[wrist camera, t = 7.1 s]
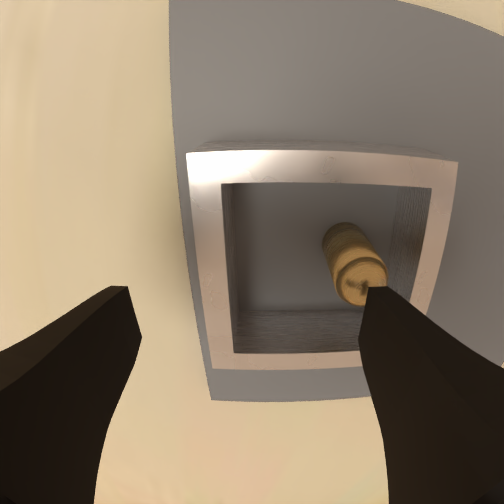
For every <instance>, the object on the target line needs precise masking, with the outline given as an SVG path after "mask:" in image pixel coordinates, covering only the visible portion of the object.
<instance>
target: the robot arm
mask: <svg viewBox="0 0 504 504" xmlns="http://www.w3.org/2000/svg"><path fill="white" fill-rule="evenodd" d="M141 339H142V335H141V332H140V329H139V326H138V322H137V319H136V315H135V312H134V308H133V304H132V301H131V297H130V293H129V290H128V286H110V287H108V288H105V289H104V290H102V291H100V292H98V293H97V294H95V295H94V296H92V297H90V298H89V299H87V300H86V301H84V302H83V303H81V304H80V305H78V306H77V307H75V308H74V309H72V310H70V311H69V312H67V313H66V314H64V315H63V316H61V317H60V318H58V319H57V320H55V321H54V322H52V323H50V324H49V325H47V326H46V327H44V328H42V329H41V330H39V331H38V332H36V333H34V334H33V335H31V336H29V337H28V338H26V339H24V340H22V341H20V342H18V343H16V344H15V345H13V346H11V347H9V348H7V349H5V350H3V351H0V504H94V496H95V488H96V480H97V474H98V468H99V463H100V458H101V453H102V449H103V445H104V441H105V437H106V433H107V430H108V427H109V424H110V421H111V418H112V416H113V413H114V411H115V409H116V406H117V404H118V401H119V399H120V397H121V394H122V392H123V390H124V388H125V385H126V383H127V381H128V378H129V376H130V374H131V371H132V369H133V366H134V364H135V361H136V357H137V354H138V350H139V347H140V343H141ZM358 344H359V350H360V356H361V362H362V367H363V371H364V374H365V377H366V381H367V384H368V387H369V391H370V394H371V397H372V401H373V404H374V407H375V411H376V414H377V418H378V421H379V425H380V429H381V433H382V438H383V443H384V451H385V458H386V466H387V478H388V491H389V504H504V368H502V367H500V366H498V365H496V364H495V363H493V362H491V361H489V360H488V359H486V358H485V357H483V356H481V355H480V354H478V353H476V352H475V351H473V350H472V349H470V348H469V347H467V346H466V345H464V344H463V343H461V342H460V341H459V340H457V339H456V338H454V337H453V336H452V335H450V334H449V333H448V332H446V331H445V330H444V329H442V328H441V327H440V326H438V325H437V324H436V323H434V322H433V321H432V320H431V319H429V318H428V317H427V316H426V315H424V314H423V313H422V312H421V311H419V310H418V309H417V308H416V307H414V306H413V305H412V304H411V303H409V302H408V301H407V300H406V299H404V298H403V297H402V296H401V295H399V294H398V293H397V292H395V291H394V290H392V289H391V288H389V287H388V286H378V287H368V292H367V298H366V303H365V308H364V313H363V318H362V323H361V327H360V332H359V336H358Z"/></svg>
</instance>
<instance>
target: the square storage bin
mask: <svg viewBox="0 0 504 504" xmlns="http://www.w3.org/2000/svg"><path fill="white" fill-rule="evenodd" d="M187 166H188V178H189V189H190V200H191V210H192V220H193V230H194V239H195V248H196V256H197V265H198V273H199V281H200V288H201V296H202V303H203V310H204V317H205V324H206V331H207V337H208V344H209V350H210V356H211V362H212V368H213V369H239V370H299V369H326V368H344V367H358V366H362V362H361V356H360V350H359V344H358V336H359V332H360V327H361V323H362V318H363V313H364V309H345V310H309V311H239V296H238V280H237V263H236V246H235V228H234V209H233V189H232V183H260V182H310V183H352V184H376V185H395V186H398V192H397V201H396V209H395V217H394V224H393V231H392V238H391V244H390V250H389V256H388V262H387V270H388V284H387V286H388V287H389V288H391V289H392V290H394V291H395V292H397V293H398V294H399V295H401V296H402V297H403V298H404V299H406V300H407V301H408V302H409V303H411V304H412V305H413V306H414V307H416V308H417V309H418V310H419V311H421V312H422V313H423V314H424V315H426V313H427V310H428V307H429V303H430V300H431V297H432V293H433V290H434V286H435V283H436V279H437V275H438V271H439V267H440V263H441V259H442V255H443V251H444V246H445V242H446V237H447V232H448V227H449V222H450V217H451V211H452V205H453V199H454V192H455V185H456V177H457V169H458V162H456V161H454V160H451V159H449V158H446V157H443V156H441V155H438V154H435V153H433V152H430V151H427V150H425V149H422V148H413V147H404V146H395V145H384V144H372V143H357V142H340V141H313V140H249V141H222V142H205V143H203V144H202V145H200V146H198V147H196V148H195V149H193V150H191V151H190V152H188V153H187Z"/></svg>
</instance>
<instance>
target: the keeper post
mask: <svg viewBox="0 0 504 504" xmlns="http://www.w3.org/2000/svg"><path fill="white" fill-rule="evenodd" d="M322 250H323V253H324V256H325V259H326V262H327V265H328V268H329V271H330V274H331V277H332V280H333V283H334V286H335V289H336V292H337V294H338V296H339V297H340V298H341V299H342V300H343V301H345V302H346V303H348V304H350V305H353V306H358V307H363V306H365V303H366V298H367V292H368V287H378V286H387V284H388V270H387V267H386V266H385V264H384V262H383V261H382V259H381V258H380V256H379V255H378V253H377V252H376V250H375V249H374V247H373V246H372V244H371V243H370V241H369V240H368V238H367V237H366V235H365V234H364V232H363V231H362V230H361V228H360V227H359V226H357V225H355V224H353V223H350V222H341V223H338V224H335V225H333V226H332V227H330V228H329V229H328V230H327V232H326V233H325V235H324V237H323V239H322Z"/></svg>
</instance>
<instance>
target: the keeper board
mask: <svg viewBox="0 0 504 504" xmlns="http://www.w3.org/2000/svg"><path fill="white" fill-rule="evenodd" d="M169 51H170V80H171V100H172V117H173V132H174V145H175V157H176V168H177V179H178V189H179V198H180V207H181V216H182V225H183V233H184V241H185V248H186V256H187V263H188V270H189V277H190V284H191V291H192V297H193V303H194V310H195V316H196V322H197V327H198V333H199V339H200V345H201V350H202V355H203V361H204V366H205V371H206V376H207V381H208V386H209V391H210V396H211V400H220V401H245V402H294V401H319V400H335V399H348V398H358V397H368V396H371V394H370V391H369V387H368V384H367V381H366V377H365V374H364V371H363V367H362V366H358V367H344V368H326V369H299V370H239V369H213V368H212V362H211V356H210V350H209V344H208V337H207V331H206V324H205V317H204V310H203V303H202V296H201V288H200V281H199V273H198V265H197V256H196V248H195V239H194V230H193V220H192V210H191V200H190V189H189V178H188V166H187V153H188V152H190V151H191V150H193V149H195V148H196V147H198V146H200V145H202V144H203V143H205V142H222V141H249V140H313V141H340V142H357V143H372V144H384V145H395V146H404V147H413V148H422V149H425V150H427V151H430V152H433V153H435V154H438V155H441V156H443V157H446V158H449V159H451V160H454V161H456V162H458V169H457V177H456V185H455V192H454V199H453V205H452V211H451V217H450V222H449V227H448V232H447V237H446V242H445V246H444V251H443V255H442V259H441V263H440V267H439V271H438V275H437V279H436V283H435V286H434V290H433V293H432V297H431V300H430V303H429V307H428V310H427V313H426V316H427V317H428V318H429V319H431V320H432V321H433V322H434V323H436V324H437V325H438V326H440V327H441V328H442V329H444V330H445V331H446V332H448V333H449V334H450V335H452V336H453V337H454V338H456V339H457V340H459V341H460V342H461V343H463V344H464V345H466V346H467V347H469V348H470V349H472V350H473V351H475V352H476V353H478V354H480V355H481V356H483V357H485V358H486V359H488V360H489V361H491V362H493V363H495V364H496V365H498V366H500V367H501V365H502V364H503V362H504V37H503V36H501V35H499V34H497V33H494V32H492V31H490V30H487V29H485V28H483V27H480V26H478V25H475V24H473V23H470V22H468V21H465V20H462V19H459V18H456V17H454V16H451V15H448V14H445V13H441V12H438V11H435V10H432V9H428V8H425V7H421V6H417V5H414V4H410V3H406V2H401V1H397V0H169ZM232 189H233V209H234V228H235V246H236V263H237V280H238V296H239V311H309V310H345V309H364V308H365V306H363V307H358V306H353V305H350V304H348V303H346V302H345V301H343V300H342V299H341V298H340V297H339V296H338V294H337V292H336V289H335V286H334V283H333V280H332V277H331V274H330V271H329V268H328V265H327V262H326V259H325V256H324V253H323V250H322V239H323V237H324V235H325V233H326V232H327V230H328V229H329V228H330V227H332V226H333V225H335V224H338V223H341V222H350V223H353V224H355V225H357V226H359V227H360V228H361V230H362V231H363V232H364V234H365V235H366V237H367V238H368V240H369V241H370V243H371V244H372V246H373V247H374V249H375V250H376V252H377V253H378V255H379V256H380V258H381V259H382V261H383V262H384V264H385V266H386V267H387V262H388V256H389V250H390V244H391V238H392V231H393V224H394V217H395V209H396V201H397V192H398V186H395V185H376V184H352V183H310V182H260V183H232Z"/></svg>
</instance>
